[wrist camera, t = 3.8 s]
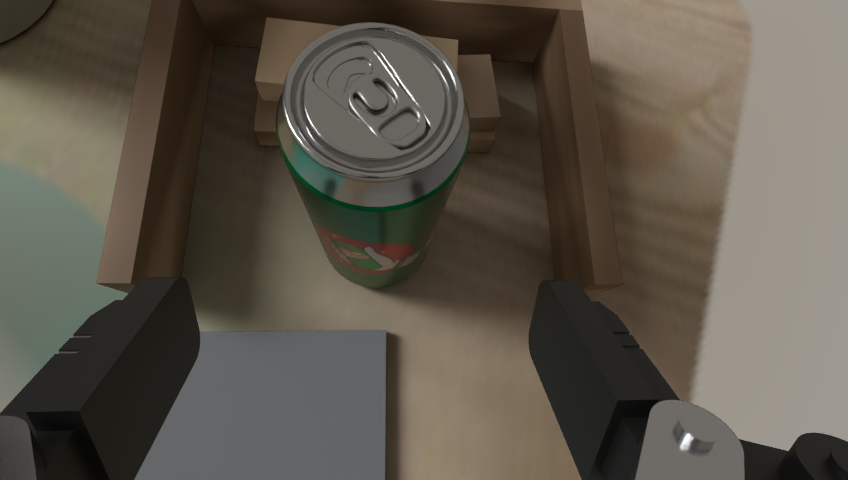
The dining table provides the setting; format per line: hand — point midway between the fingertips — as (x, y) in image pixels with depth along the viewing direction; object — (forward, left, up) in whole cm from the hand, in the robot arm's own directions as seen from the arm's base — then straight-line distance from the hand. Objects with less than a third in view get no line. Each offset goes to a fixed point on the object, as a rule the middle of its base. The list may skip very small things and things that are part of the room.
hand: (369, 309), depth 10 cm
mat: (-5, -4, -11) cm, 12 cm away
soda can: (0, +5, -11) cm, 12 cm away
